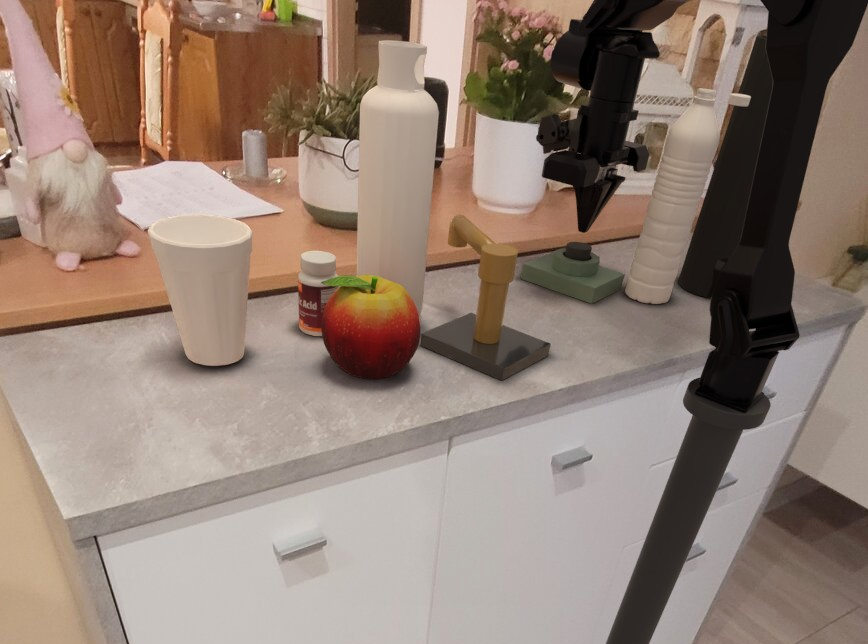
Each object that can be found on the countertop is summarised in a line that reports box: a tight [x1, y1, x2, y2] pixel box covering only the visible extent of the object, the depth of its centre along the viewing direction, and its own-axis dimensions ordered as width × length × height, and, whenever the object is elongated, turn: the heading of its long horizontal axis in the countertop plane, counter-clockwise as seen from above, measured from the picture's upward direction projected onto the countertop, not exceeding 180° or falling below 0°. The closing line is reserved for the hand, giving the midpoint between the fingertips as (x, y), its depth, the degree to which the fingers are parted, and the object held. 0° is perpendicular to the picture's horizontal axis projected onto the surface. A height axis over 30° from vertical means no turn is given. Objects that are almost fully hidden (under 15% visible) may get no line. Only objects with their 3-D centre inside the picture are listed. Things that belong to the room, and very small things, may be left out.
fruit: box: [321, 274, 422, 380], centre depth 77 cm, size 11×11×10 cm
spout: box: [447, 214, 519, 284], centre depth 84 cm, size 16×4×3 cm, turn 18°
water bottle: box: [624, 87, 751, 305], centre depth 96 cm, size 9×6×25 cm
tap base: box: [419, 279, 552, 381], centre depth 83 cm, size 12×10×8 cm
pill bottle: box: [297, 250, 340, 337], centre depth 84 cm, size 5×5×8 cm
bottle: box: [355, 39, 440, 328], centre depth 79 cm, size 8×8×28 cm
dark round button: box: [564, 241, 593, 261], centre depth 103 cm, size 4×4×2 cm
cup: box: [147, 213, 254, 367], centre depth 75 cm, size 10×10×13 cm
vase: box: [677, 34, 773, 299], centre depth 99 cm, size 10×10×30 cm
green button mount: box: [520, 247, 626, 304], centre depth 104 cm, size 12×9×4 cm
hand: (582, 231), depth 101 cm, fingers closed
